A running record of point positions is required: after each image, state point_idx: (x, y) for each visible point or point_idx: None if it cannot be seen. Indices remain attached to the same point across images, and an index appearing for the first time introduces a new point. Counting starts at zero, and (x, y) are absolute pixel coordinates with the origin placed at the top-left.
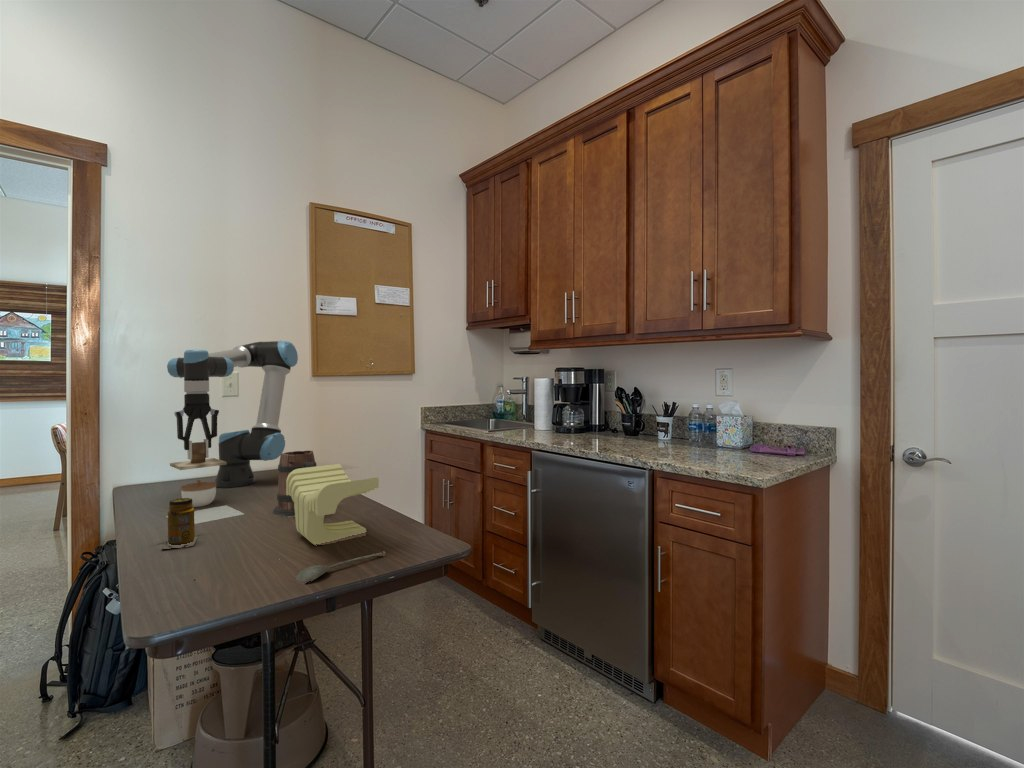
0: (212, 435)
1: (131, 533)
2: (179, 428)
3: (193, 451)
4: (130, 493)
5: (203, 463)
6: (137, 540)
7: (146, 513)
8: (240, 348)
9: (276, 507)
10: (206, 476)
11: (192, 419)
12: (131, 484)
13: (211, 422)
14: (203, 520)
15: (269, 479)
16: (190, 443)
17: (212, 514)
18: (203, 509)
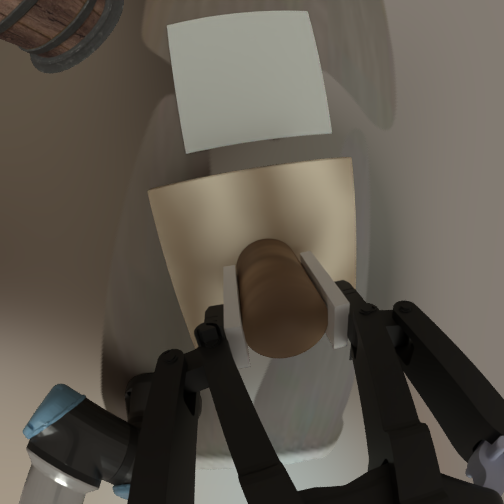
0: (191, 364)
1: (384, 55)
2: (454, 349)
3: (304, 273)
4: (332, 410)
5: (251, 208)
6: (370, 4)
7: (356, 222)
8: None
9: (103, 14)
10: (215, 459)
11: (414, 444)
12: (314, 451)
13: (193, 477)
14: (260, 24)
15: (104, 394)
16: (337, 294)
17: (233, 65)
18: (245, 141)
